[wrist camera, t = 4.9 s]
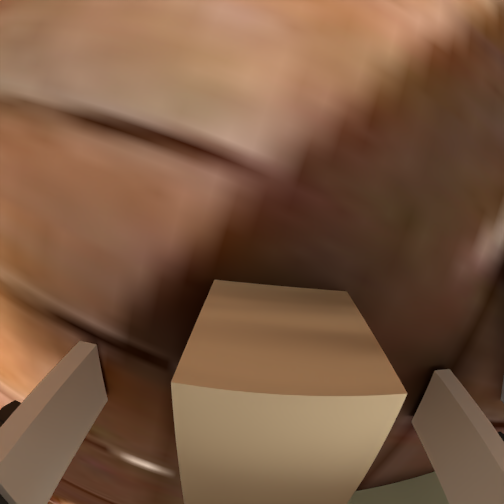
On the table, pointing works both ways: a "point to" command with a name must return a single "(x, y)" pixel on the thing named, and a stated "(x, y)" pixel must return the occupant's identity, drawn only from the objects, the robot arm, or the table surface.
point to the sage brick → (404, 492)
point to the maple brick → (280, 397)
